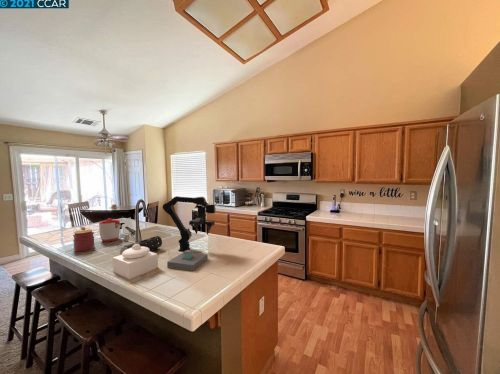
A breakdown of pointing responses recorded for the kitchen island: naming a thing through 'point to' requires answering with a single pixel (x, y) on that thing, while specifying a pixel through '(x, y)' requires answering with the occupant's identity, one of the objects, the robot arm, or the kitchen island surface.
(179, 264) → the outlet plate
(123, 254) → the butter dish
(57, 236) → the kitchen island surface
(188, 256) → the block
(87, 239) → the canister
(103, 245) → the kitchen island surface
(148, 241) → the muzzle brake
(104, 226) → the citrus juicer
